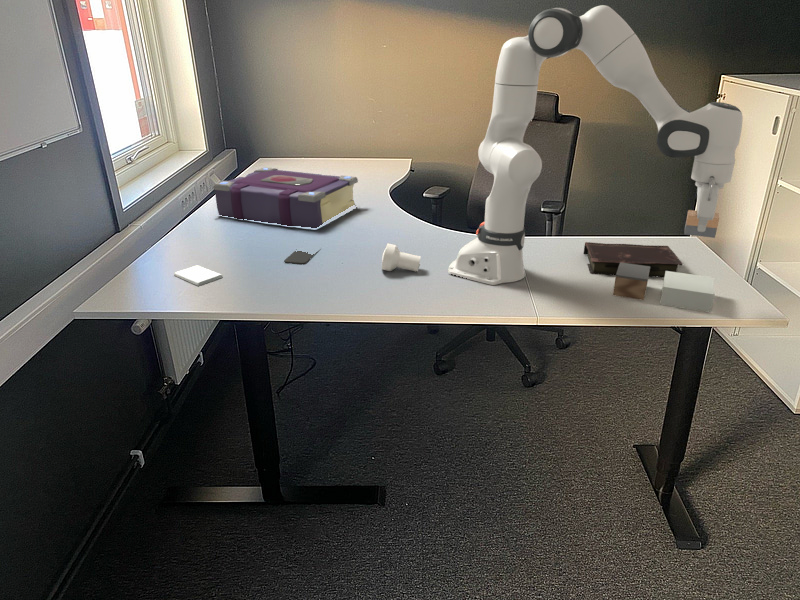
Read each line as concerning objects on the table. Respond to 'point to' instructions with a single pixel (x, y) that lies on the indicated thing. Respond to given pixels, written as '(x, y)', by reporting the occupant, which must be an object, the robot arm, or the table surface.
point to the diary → (630, 258)
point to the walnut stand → (631, 281)
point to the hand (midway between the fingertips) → (700, 227)
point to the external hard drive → (198, 275)
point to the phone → (298, 257)
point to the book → (285, 197)
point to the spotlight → (399, 259)
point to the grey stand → (688, 291)
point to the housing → (693, 225)
